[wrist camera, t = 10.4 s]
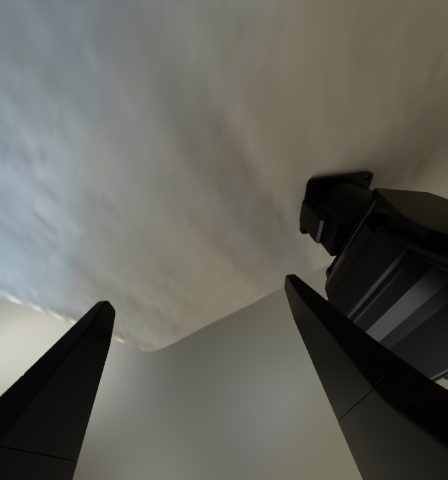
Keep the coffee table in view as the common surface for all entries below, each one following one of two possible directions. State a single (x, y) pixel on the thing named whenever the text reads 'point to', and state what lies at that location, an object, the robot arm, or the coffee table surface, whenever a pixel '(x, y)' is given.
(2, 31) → the coffee table surface
